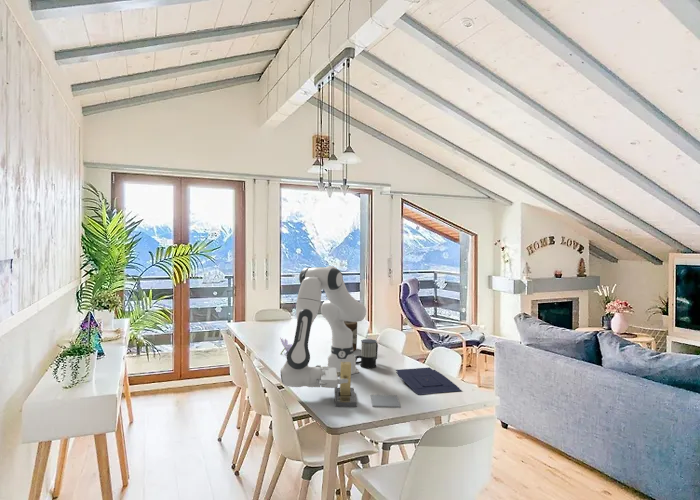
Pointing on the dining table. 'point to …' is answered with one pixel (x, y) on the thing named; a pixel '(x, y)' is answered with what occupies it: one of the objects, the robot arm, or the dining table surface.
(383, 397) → the grey mat
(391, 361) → the dining table surface
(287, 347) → the purple daisy flower
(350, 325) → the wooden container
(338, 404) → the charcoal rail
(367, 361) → the milk frother
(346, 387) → the brass peg
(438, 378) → the navy flat rectangular piece
